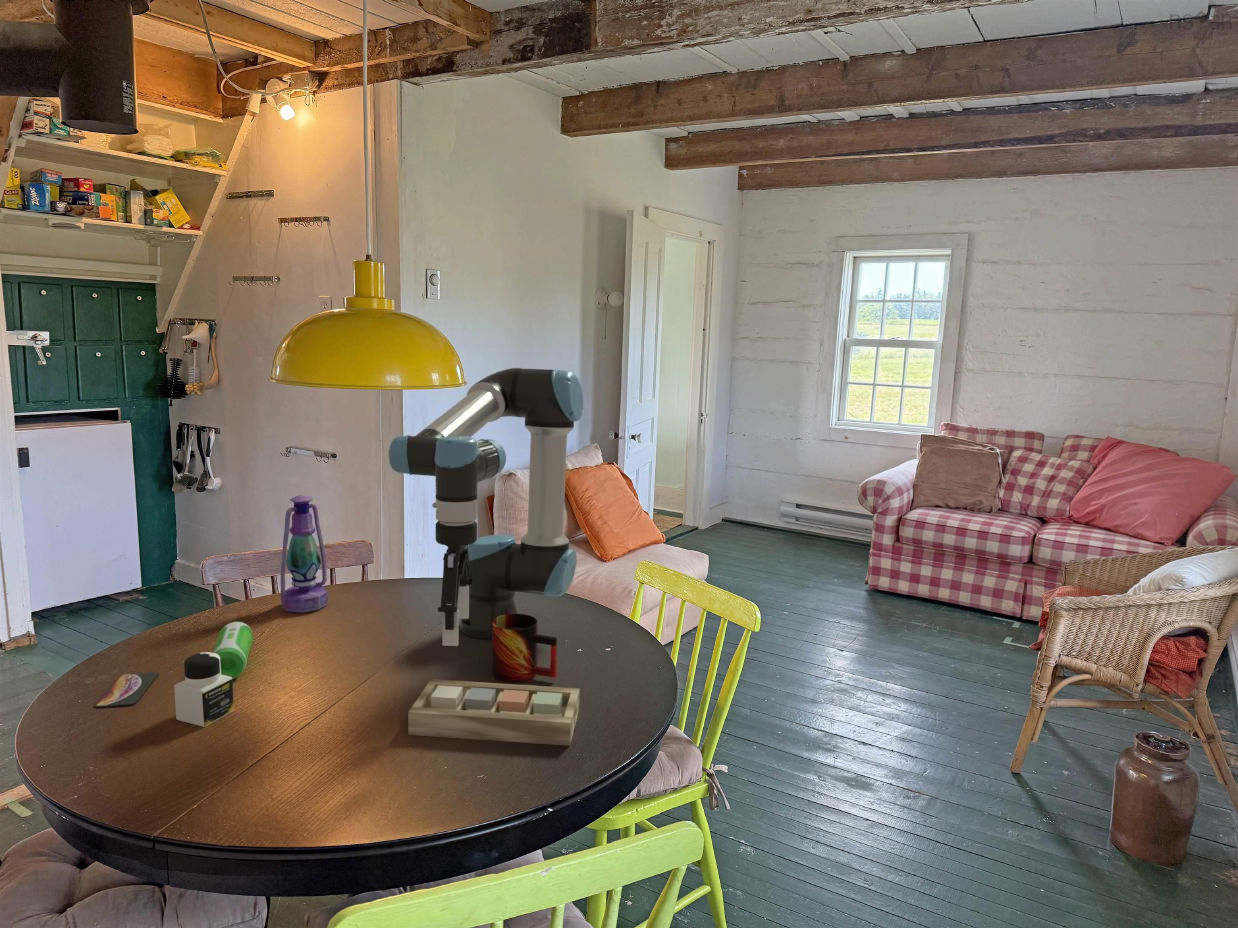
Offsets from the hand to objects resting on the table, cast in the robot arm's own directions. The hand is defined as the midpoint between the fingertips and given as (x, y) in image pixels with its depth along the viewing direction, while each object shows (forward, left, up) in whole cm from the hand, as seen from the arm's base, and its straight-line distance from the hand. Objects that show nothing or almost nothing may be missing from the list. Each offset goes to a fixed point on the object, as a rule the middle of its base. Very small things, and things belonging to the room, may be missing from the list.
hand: (456, 631), depth 152 cm
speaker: (-18, -54, -18) cm, 60 cm away
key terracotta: (-1, +11, -14) cm, 18 cm away
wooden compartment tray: (-1, +8, -18) cm, 20 cm away
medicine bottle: (+4, -47, -18) cm, 51 cm away
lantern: (-55, -55, -18) cm, 80 cm away
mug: (-22, +9, -18) cm, 30 cm away
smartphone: (-4, -68, -19) cm, 71 cm away
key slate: (-1, +5, -14) cm, 15 cm away
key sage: (-1, +18, -14) cm, 23 cm away
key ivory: (-1, -2, -14) cm, 15 cm away
